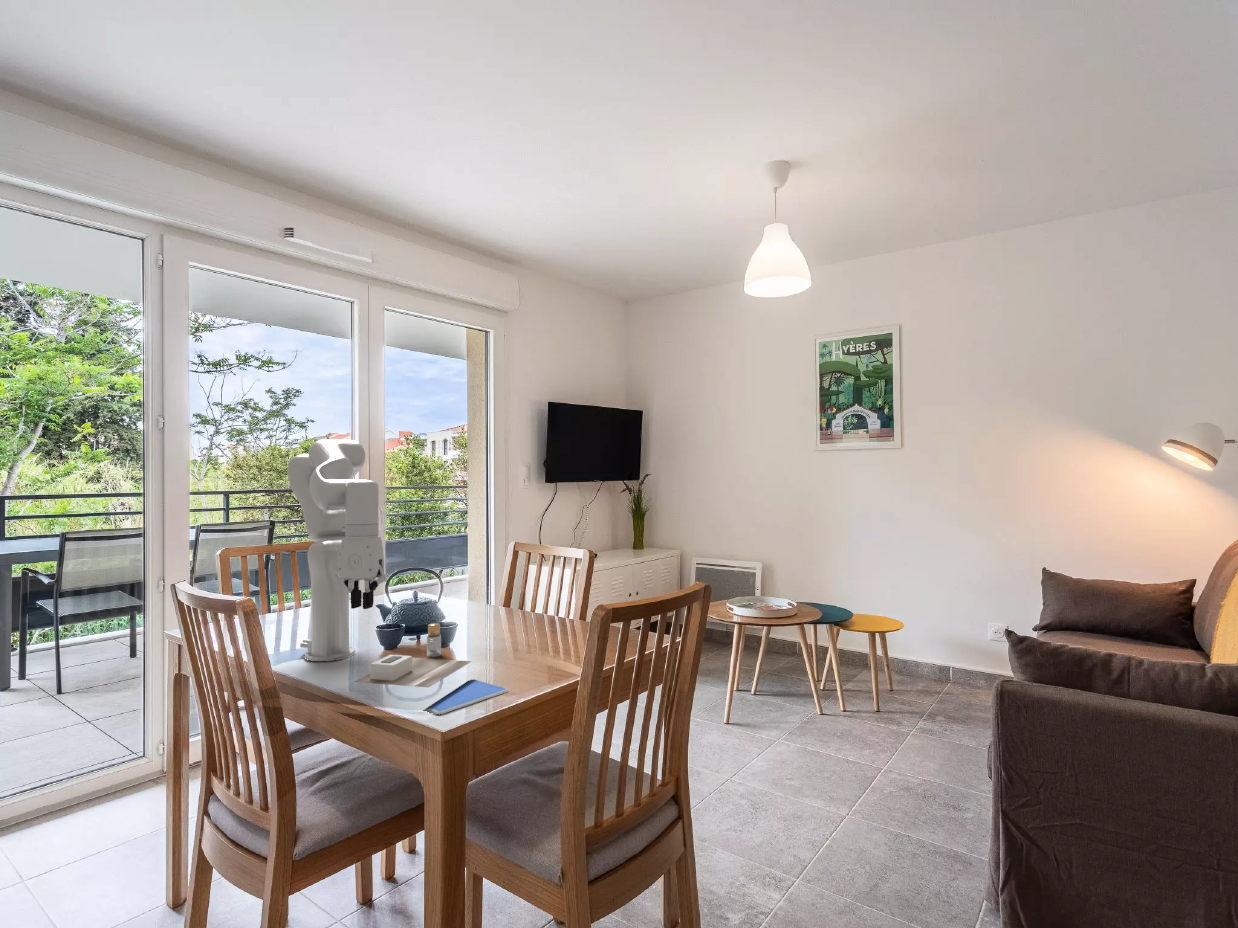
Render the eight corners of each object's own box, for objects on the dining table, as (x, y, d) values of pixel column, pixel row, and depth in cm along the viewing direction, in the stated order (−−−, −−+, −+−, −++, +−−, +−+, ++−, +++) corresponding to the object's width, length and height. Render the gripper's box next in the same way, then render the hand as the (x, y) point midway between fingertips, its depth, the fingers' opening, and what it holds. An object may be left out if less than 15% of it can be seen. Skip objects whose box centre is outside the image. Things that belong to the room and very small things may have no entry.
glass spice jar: (424, 662, 173) (424, 625, 174) (431, 658, 177) (431, 622, 177) (436, 662, 172) (436, 626, 173) (443, 659, 176) (443, 623, 176)
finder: (370, 678, 154) (370, 662, 154) (390, 668, 162) (390, 653, 162) (393, 680, 153) (393, 664, 153) (412, 670, 161) (412, 655, 161)
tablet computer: (473, 683, 157) (473, 677, 157) (510, 693, 149) (510, 687, 149) (402, 705, 142) (402, 699, 142) (439, 718, 134) (439, 712, 134)
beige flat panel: (354, 687, 152) (354, 681, 152) (404, 662, 173) (404, 656, 173) (428, 693, 148) (428, 686, 148) (471, 667, 168) (471, 661, 168)
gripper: (322, 532, 158) (322, 609, 158) (382, 533, 154) (382, 612, 154) (342, 529, 166) (342, 603, 165) (400, 530, 162) (400, 606, 161)
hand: (362, 607), depth 160 cm, fingers open, 2 cm apart
